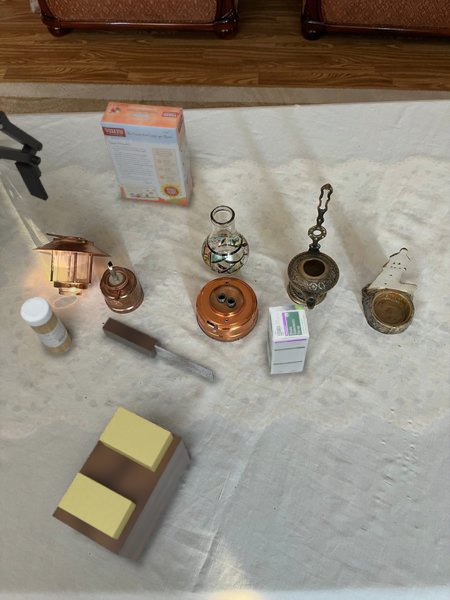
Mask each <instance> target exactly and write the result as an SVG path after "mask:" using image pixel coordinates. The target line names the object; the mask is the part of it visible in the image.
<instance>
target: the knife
mask: <svg viewBox="0 0 450 600" xmlns="http://www.w3.org/2000/svg"><path fill="white" fill-rule="evenodd" d="M101 329H102V331H103V333H104V335H105V337H107V338H109V339H111V340H112V341H114V342H117V343H120V345H122V346H125V347H128V348H129V349H132V350H134V351H136V352H138V353H140V354H143V356H146V357H148V358H150V359H152V360H154V359H155V358H156V357H157V355H158V356H160V357H162V358H164V359H166V360H168V361H170V362H173V363H175V364H177V365H179V366H181V367H183V368H185V369H188V370H190V371H191V372H194V373H196V374H198V375H199V376H200V375H201V376H202V377H204V378H206V379H208V380H211V381H214V374H213V371H212V370H209V369H207V368H205V367H204V366H201V365H199V364H197V363H194V362H193V361H190V360H188V359H186V358H184V357H182V356H180V355H177V354H175V353H173V352H172V351H169V350H167V349H166V348H163V347H161V344H160V342H159V339H157V338H155V337H153V336H151V335H149V334H147V333H145V332H142V331H140V330H138V329H136V328H133V327H131V326H129V325H127V324H126V323H123V322H120V321H119V320H116V319H114V318H112V317H108V319H106V321H105V322H104V324H103V326H102V327H101Z"/></svg>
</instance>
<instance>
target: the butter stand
mask: <svg viewBox="0 0 450 600" xmlns="http://www.w3.org/2000/svg"><path fill="white" fill-rule="evenodd" d="M171 434H172V436H173V440H172V442H171V444H170V446H169V447H168V449H167V451H166V453H165V455H164V456H163V458H162V460H161V462H160V464H159V465H158V467H157V469H156V471H155V472H153V471H151V470H150V469H148V468H146V467H144V466H142V465H140V464H138V463H137V462H135V461H133V460H131V459H129V458H127V457H126V456H124V455H122V454H120V453H118V452H116V451H114V450H113V449H111V448H109V447H107V446H105V445H104V444H103V443H102V442H101V441H100V440H99V439H98V441H97V443H96V444H95V446H94V447H93V449H92V450H91V452H90V454H89V455H88V456H87V459H86V460H85V461H84V464H83V465H82V467H81V468H80V470H79V471H78V472H79V473H81V474H83V475H85V476H87V477H88V478H90V479H92V480H94V481H96V482H97V483H99V484H101V485H103V486H105V487H107V488H108V489H110V490H112V491H114V492H116V493H117V494H119V495H121V496H123V497H125V498H127V499H128V500H130V501H132V502H133V503H134V504H135V505H136V507H135V509H134V511H133V512H132V514H131V516H130V518H129V520H128V522H127V523H126V525H125V527H124V529H123V531H122V533H121V534H120V536H119V538H118V540H117V539H115V538H112V537H111V536H109V535H107V534H105V533H104V532H102V531H100V530H98V529H97V528H95V527H93V526H92V525H90V524H88V523H86V522H85V521H83V520H81V519H79V518H78V517H76V516H74V515H72V514H71V513H69V512H67V511H66V510H64V509H62V508H60V507H59V506H58V505H57V507H56V508H55V510H54V511H53V513H52V515H51V517H53V518H55V519H56V520H58V521H60V522H61V523H63V524H65V525H66V526H68V527H70V528H71V529H73V530H75V531H77V532H78V533H80V534H81V535H83V536H84V537H86V538H87V539H90V540H91V541H93V542H94V543H97V544H98V545H100V546H101V547H103V548H105V549H106V550H108V551H110V552H111V553H113V554H114V555H116V556H118V557H121V558H124V559H128V560H130V561H133V562H139V559H140V558H141V556H142V555H143V552H144V550H145V548H146V546H147V544H148V543H149V541H150V539H151V537H152V536H153V533H154V531H155V529H156V528H157V526H158V524H159V522H160V520H161V519H162V516H163V514H164V512H165V510H166V509H167V507H168V505H169V503H170V501H171V500H172V497H173V496H174V494H175V492H176V490H177V488H178V486H179V484H180V482H181V480H182V479H183V476H184V475H185V473H186V471H187V469H188V467H189V465H190V464H191V461H192V460H191V458H190V455H189V453H188V451H187V447H186V445H185V443H184V440H183V438H182V437H180V436H179V435H176V434H174V433H172V432H171Z"/></svg>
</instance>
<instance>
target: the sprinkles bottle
mask: <svg viewBox="0 0 450 600" xmlns="http://www.w3.org/2000/svg"><path fill="white" fill-rule="evenodd" d="M20 316H21V318H22V319H23V321H24V322H25V324H27V325H28V326H29V327H30V328H31V329H32V330H33V332H34V333H35V335H36V336H37V337H38V338H39V339H40V341H41V342H42V343H43V344H44V345H45V347H46V348H47V349H48V351H50V352H51V353H52V354H56V355H59V354H62V353H65V352H66V351H67V350H68V349H70V346H72V339H73V338H72V337H71V335H70V334H69V332H68V330H67V329H66V327H65V326H64V324H63V323H62V321H61V319H59V317H58V316H57V315H56V313H55V311H53V307H52V306H51V304H50V303H49V301H48V300H47V299H46V298H44V297H41V296H34V297H33V296H32V297H31V298H29V299H26V300H25V301H24V303H22V305H21V307H20Z"/></svg>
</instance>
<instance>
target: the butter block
mask: <svg viewBox="0 0 450 600" xmlns="http://www.w3.org/2000/svg"><path fill="white" fill-rule="evenodd" d="M171 433H172V432H171V431H169V430H167V429H165V428H163V427H161V426H159V425H157V424H156V423H153V422H151V421H150V420H148V419H146V418H144V417H142V416H140V415H138V414H136V413H134V412H133V411H131V410H128V409H126V408H124V407H123V406H121V405H119V406H118V408H117V409H116V411H115V413H114V414H113V415H112V417H111V419H110V420H109V422H108V424H107V425H106V427H105V429H104V430H103V431H102V433H101V434H100V437H99V438H98V441H99V440H100V441H101V442H102V443H103V444H104V445H105V446H107V447H109V448H111V449H113V450H114V451H116V452H118V453H120V454H122V455H124V456H126V457H127V458H129V459H131V460H133V461H135V462H137V463H138V464H140V465H142V466H144V467H146V468H148V469H150V470H151V471H153V472H155V471H156V469H157V467H158V465H159V464H160V462H161V460H162V458H163V456H164V455H165V453H166V451H167V449H168V447H169V446H170V444H171V442H172V440H173V436H172V434H173V433H172V434H171Z"/></svg>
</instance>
